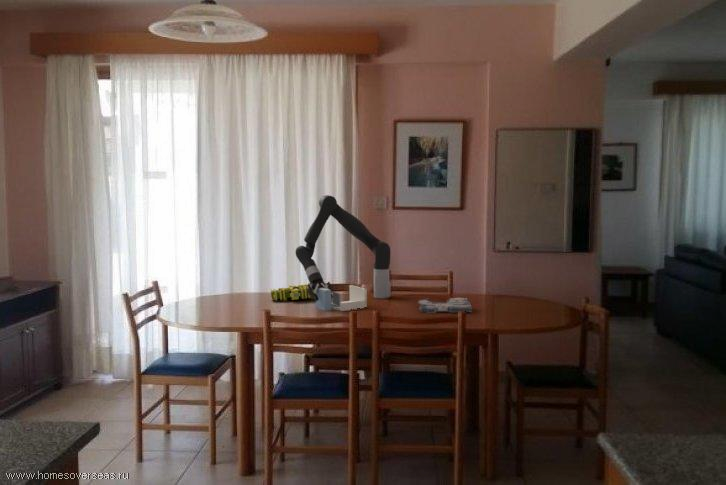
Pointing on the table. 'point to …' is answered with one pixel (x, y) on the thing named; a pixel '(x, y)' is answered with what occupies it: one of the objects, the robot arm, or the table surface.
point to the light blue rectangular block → (323, 299)
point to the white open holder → (351, 299)
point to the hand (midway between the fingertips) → (324, 299)
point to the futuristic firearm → (445, 305)
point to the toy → (291, 293)
